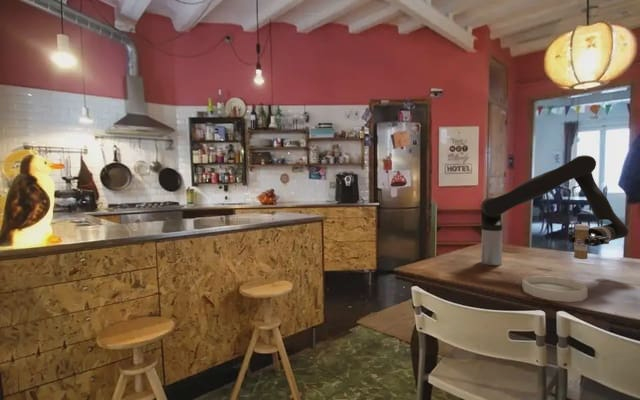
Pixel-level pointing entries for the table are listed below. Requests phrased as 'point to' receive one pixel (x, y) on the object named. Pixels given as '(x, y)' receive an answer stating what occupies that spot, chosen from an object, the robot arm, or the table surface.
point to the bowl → (554, 288)
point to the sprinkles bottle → (581, 241)
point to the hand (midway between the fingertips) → (578, 241)
